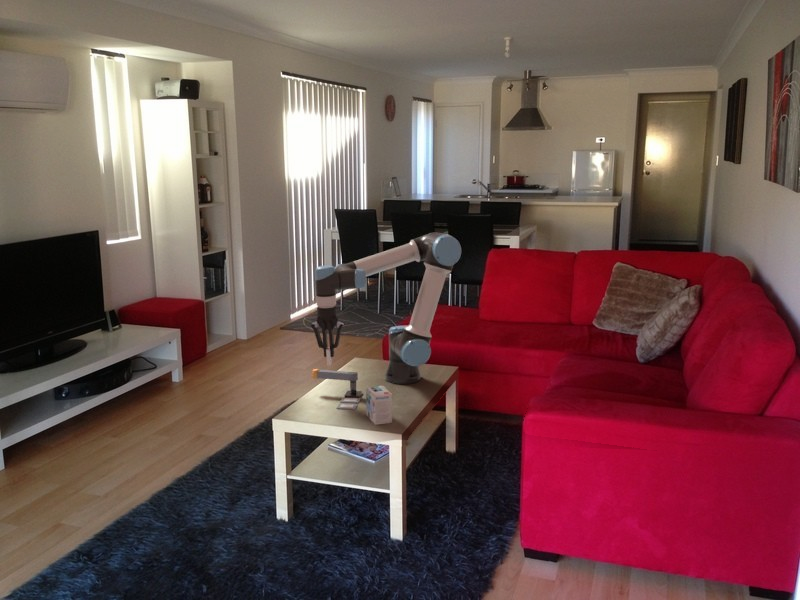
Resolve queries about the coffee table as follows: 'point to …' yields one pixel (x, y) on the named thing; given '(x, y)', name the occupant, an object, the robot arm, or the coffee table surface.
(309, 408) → the coffee table surface
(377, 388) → the light bulb box
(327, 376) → the cable arm
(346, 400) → the label
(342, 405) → the label
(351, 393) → the post
